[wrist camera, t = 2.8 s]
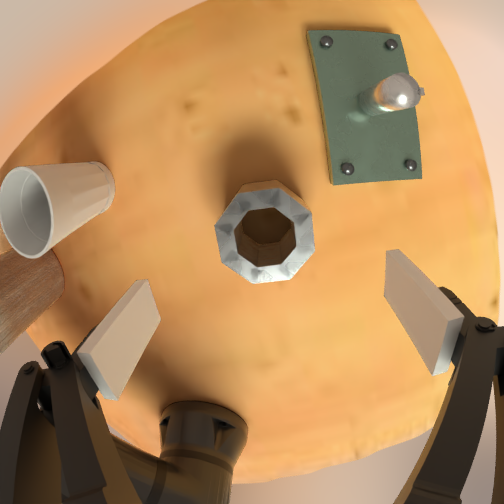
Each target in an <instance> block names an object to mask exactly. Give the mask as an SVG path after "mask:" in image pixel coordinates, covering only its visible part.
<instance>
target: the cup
mask: <svg viewBox="0 0 504 504" xmlns="http://www.w3.org/2000/svg"><path fill="white" fill-rule="evenodd" d="M114 195H115V182H114V179H113V176H112V174H111V172H110V170H109V169H108V168H107V167H106V166H105V165H103V164H102V163H100V162H96V161H91V162H83V163H63V164H48V165H33V166H20V167H16V168H14V169H12V170H11V171H10V172H9V173H8V174H7V175H6V177H5V178H4V180H3V182H2V185H1V188H0V222H1V226H2V229H3V232H4V234H5V236H6V238H7V240H8V241H9V243H10V244H11V246H12V247H13V248H14V249H15V250H16V251H17V252H18V253H19V254H21V255H22V256H24V257H27V258H38V257H40V256H42V255H43V254H44V253H46V252H47V251H48V250H49V249H51V248H52V247H53V246H55V245H56V244H57V243H58V242H60V241H61V240H62V239H64V238H65V237H66V236H68V235H69V234H71V233H72V232H73V231H75V230H76V229H78V228H79V227H81V226H82V225H83V224H85V223H86V222H88V221H89V220H91V219H92V218H94V217H95V216H97V215H99V214H101V213H103V212H104V211H106V210H107V209H108V208H109V207H110V205H111V204H112V202H113V199H114Z"/></svg>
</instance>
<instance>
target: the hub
mask: <svg viewBox="0 0 504 504" xmlns="http://www.w3.org/2000/svg"><path fill="white" fill-rule="evenodd" d="M271 207H274V208H276V209H277V210H278V211H280V212H281V213H282V214H284V215H285V216H286V217H288V218H289V219H290V221H291V228H290V229H289V230H288V231H287V233H286V234H285V235H284V236H283V238H282V239H281V240H280V241H279V242H274V243H266V244H258V243H257V242H255V241H254V240H252V239H251V238H250V237H248V236H247V235H245V234H244V233H243V228H242V222H241V220H242V218H243V217H244V216H245V214H246V213H247V212H248V211H249V210H256V209H264V208H271ZM214 226H215V231H216V236H217V241H218V246H219V251H220V256H221V261H222V263H223V264H225V265H226V266H228V267H229V268H231V269H232V270H233V271H235V272H236V273H238V274H239V275H241V276H242V277H244V278H245V279H247V280H248V281H250V282H251V283H253V284H255V283H263V282H272V281H280V280H288V279H291V278H292V277H293V276H294V274H295V273H296V272H297V271H298V270H299V269H300V268H301V266H302V265H303V264H304V263H305V262H306V261H307V260H308V258H309V257H310V256H311V255H312V254H313V253H314V251H315V246H314V234H313V223H312V213H311V211H310V210H309V208H308V207H307V205H306V204H305V202H304V201H303V199H301V198H300V197H299V196H298V195H296V194H295V193H294V192H292V191H291V190H290V189H289V188H287V187H286V186H285V185H283V184H282V183H281V182H279V181H278V180H269V181H262V182H255V183H248V184H243V186H242V187H241V188H240V190H239V191H238V192H237V194H236V195H235V197H234V198H233V199H232V201H231V202H230V203H229V205H228V206H227V208H226V209H225V210H224V212H223V213H222V215H221V216H220V218H219V219H218V221H217V222H216V224H215V225H214Z"/></svg>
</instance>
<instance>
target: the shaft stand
mask: <svg viewBox="0 0 504 504" xmlns="http://www.w3.org/2000/svg"><path fill="white" fill-rule="evenodd" d="M306 37H307V42H308V46H309V51H310V55H311V60H312V65H313V70H314V75H315V80H316V86H317V91H318V97H319V103H320V109H321V115H322V122H323V128H324V135H325V143H326V150H327V158H328V167H329V176H330V183H331V184H332V185H342V184H353V183H365V182H377V181H391V180H408V179H422V167H421V153H420V142H419V132H418V124H417V116H416V109H415V106H416V105H417V104H418V103H419V101H420V98H421V96H423V95H425V93H424V88H420V87H419V85H418V83H417V82H416V81H415V79H414V78H413V77H411V76H410V75H409V71H408V66H407V62H406V58H405V54H404V50H403V46H402V42H401V39H400V35H398V34H390V33H380V32H368V31H349V30H310V31H308V32H307V35H306Z"/></svg>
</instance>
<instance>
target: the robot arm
mask: <svg viewBox="0 0 504 504" xmlns="http://www.w3.org/2000/svg"><path fill="white" fill-rule="evenodd" d="M384 297H385V298H386V300H387V301H388V303H389V304H390V306H391V308H392V309H393V311H394V312H395V314H396V315H397V317H398V319H399V320H400V322H401V323H402V325H403V327H404V328H405V330H406V332H407V333H408V335H409V337H410V338H411V340H412V342H413V343H414V345H415V347H416V348H417V350H418V352H419V354H420V355H421V357H422V359H423V361H424V362H425V364H426V366H427V368H428V370H429V371H430V373H431V375H432V376H434V375H438V374H441V373H444V372H447V371H448V368H449V365H450V362H451V361H452V363H453V364H454V366H455V369H454V371H453V374H452V376H451V379H450V381H449V384H448V385H449V387H448V390H447V393H446V396H445V399H444V401H443V404H442V407H441V410H440V412H439V415H438V417H437V420H436V422H435V425H434V427H433V429H432V432H431V434H430V436H429V439H428V441H427V443H426V445H425V447H424V449H423V451H422V453H421V455H420V458H419V460H418V461H417V463H416V465H415V467H414V469H413V471H412V473H411V475H410V476H409V478H408V480H407V482H406V484H405V485H404V487H403V489H402V490H401V492H400V494H399V495H398V497H397V499H396V500H395V502H394V503H393V504H461V503H462V500H461V499H460V494H461V491H462V489H463V486H464V484H465V481H466V478H467V476H468V474H469V471H470V468H471V465H472V462H473V460H474V457H475V454H476V451H477V447H478V444H479V441H480V437H481V433H482V430H483V426H484V422H485V418H486V413H487V409H488V404H489V399H490V394H491V387H492V382H493V385H494V395H495V409H496V438H497V439H496V466H495V478H494V488H493V495H492V502H491V504H504V326H502V327H497V325H496V324H495V322H493V321H492V320H491V319H488V318H485V317H476V316H475V315H474V314H473V313H472V312H471V311H470V310H469V309H468V308H467V306H466V305H465V304H464V303H462V301H461V300H460V299H459V298H457V296H456V295H455V294H454V293H453V292H452V291H450V290H448V289H447V288H445V287H439V288H438V287H437V286H436V285H435V284H434V283H433V282H432V281H431V280H430V279H429V278H428V277H427V276H426V275H425V274H424V273H423V272H422V271H421V270H420V269H419V268H418V267H417V266H416V265H415V264H414V263H413V262H412V261H411V260H410V259H408V258H407V257H406V256H405V255H404V254H403V253H402V252H401V251H400V250H399V249H396V250H389V251H386V270H385V288H384ZM160 321H161V317H160V315H159V312H158V309H157V306H156V303H155V300H154V297H153V294H152V291H151V288H150V285H149V282H148V279H144V280H136V281H135V282H134V283H133V285H132V286H131V287H130V288H129V289H128V290H127V292H126V293H125V294H124V295H123V296H122V297H121V299H120V300H119V301H118V302H117V303H116V304H115V306H114V307H113V308H112V309H111V310H110V312H109V313H108V314H107V315H106V316H105V318H104V319H103V320H102V321H101V322H100V324H98V325H97V326H96V327H94V328H93V329H92V330H91V331H90V332H89V333H88V335H87V337H85V338H84V340H83V342H81V343H80V345H79V346H78V347H77V348H76V350H75V351H74V352H73V353H72V355H71V354H70V353H69V351H68V349H67V347H66V345H65V343H64V342H62V341H55V342H52V343H50V344H48V345H47V346H46V347H45V348H44V349H43V350H42V352H41V356H42V358H43V359H44V361H45V362H46V364H47V366H48V367H49V368H48V369H42V368H41V367H40V365H39V364H38V362H36V361H31V362H27V363H26V364H24V365H23V366H22V368H21V369H20V370H19V373H18V375H17V378H16V381H15V384H14V387H13V389H12V393H11V395H10V398H9V402H8V405H7V408H6V411H5V415H4V419H3V422H2V426H1V430H0V504H230V495H231V485H232V475H233V468H234V466H235V464H236V462H237V460H238V458H239V457H240V455H241V453H242V451H243V449H244V447H245V445H246V442H247V435H248V428H247V425H246V423H245V422H244V421H243V420H242V418H240V417H239V416H238V415H237V414H235V413H233V412H232V411H230V410H228V409H226V408H223V407H221V406H218V405H214V404H210V403H206V402H199V401H182V402H177V403H173V404H171V405H169V406H168V407H166V408H165V410H164V411H163V414H162V416H161V419H160V424H159V427H160V442H161V454H160V458H158V457H156V456H154V455H151V454H149V453H147V452H145V451H143V450H141V449H139V448H137V447H135V446H133V445H132V444H130V443H128V442H126V441H124V440H122V439H120V438H119V437H117V436H115V435H113V434H112V433H110V431H109V429H108V426H107V423H106V420H105V417H104V414H103V411H102V408H101V405H100V402H99V400H98V398H97V397H96V393H97V392H98V390H99V391H100V392H101V394H102V395H103V397H104V398H105V399H111V400H118V399H119V397H120V395H121V393H122V391H123V390H124V388H125V386H126V384H127V382H128V380H129V378H130V376H131V374H132V372H133V370H134V369H135V367H136V365H137V363H138V361H139V359H140V357H141V356H142V354H143V352H144V350H145V348H146V346H147V345H148V343H149V341H150V339H151V337H152V335H153V334H154V332H155V330H156V328H157V327H158V325H159V323H160ZM37 402H38V404H39V405H40V406H41V407H40V409H39V408H38V404H37Z"/></svg>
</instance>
